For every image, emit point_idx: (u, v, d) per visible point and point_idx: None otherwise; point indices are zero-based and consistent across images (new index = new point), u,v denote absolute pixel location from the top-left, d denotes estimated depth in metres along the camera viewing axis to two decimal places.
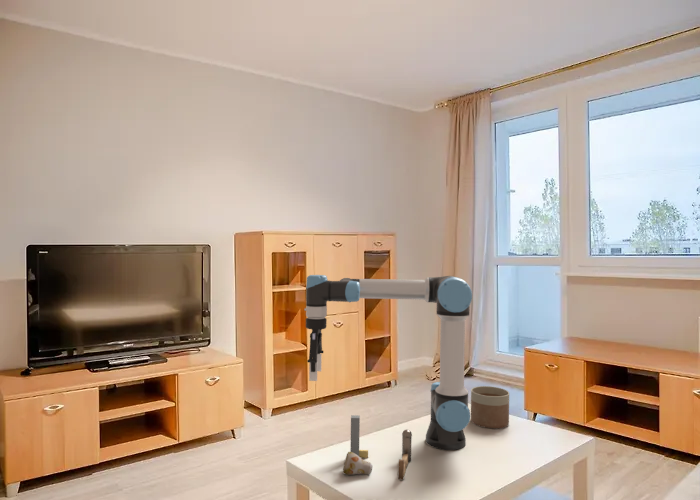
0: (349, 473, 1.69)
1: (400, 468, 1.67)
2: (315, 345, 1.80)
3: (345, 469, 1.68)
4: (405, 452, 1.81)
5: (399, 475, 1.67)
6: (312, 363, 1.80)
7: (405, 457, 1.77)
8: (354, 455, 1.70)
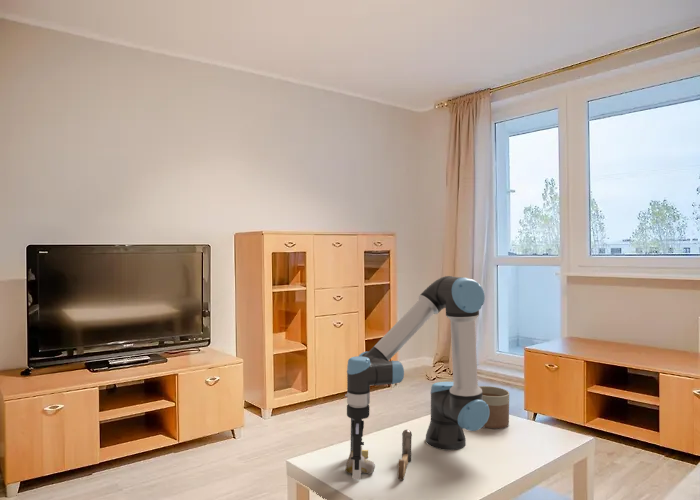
0: (351, 471, 1.70)
1: (400, 468, 1.67)
2: (359, 441, 1.64)
3: (347, 467, 1.69)
4: (405, 452, 1.81)
5: (399, 475, 1.67)
6: (356, 460, 1.65)
7: (405, 457, 1.77)
8: None
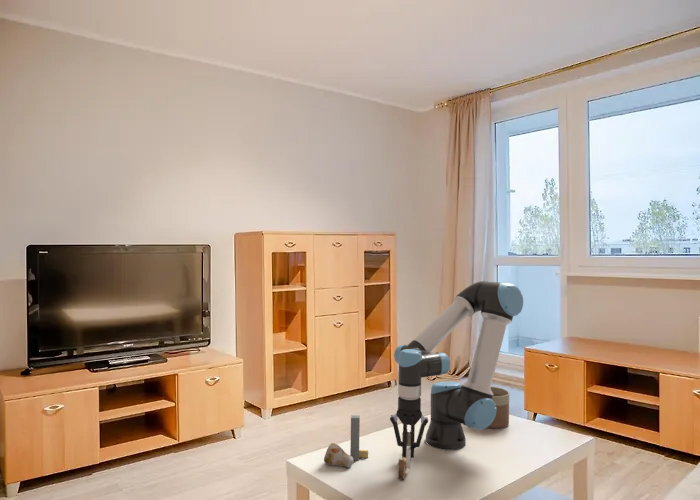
0: (329, 463, 1.76)
1: (400, 468, 1.67)
2: (394, 429, 1.73)
3: (324, 459, 1.76)
4: None
5: (399, 475, 1.67)
6: None
7: None
8: (335, 447, 1.77)
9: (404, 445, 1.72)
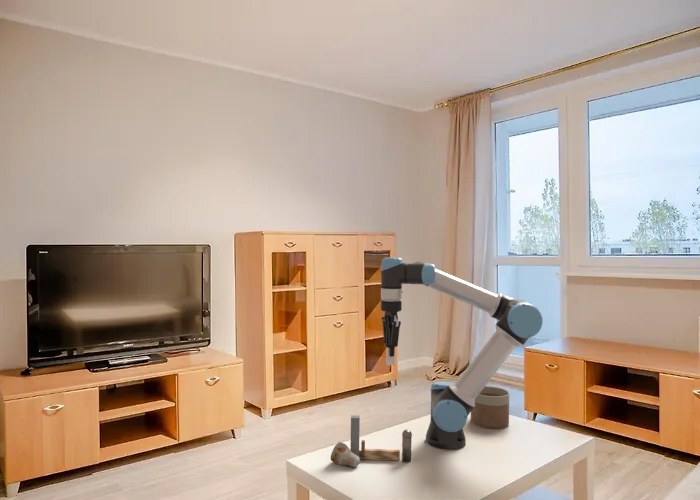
0: (335, 462, 1.77)
1: (361, 447, 1.83)
2: None
3: (331, 457, 1.77)
4: (405, 452, 1.81)
5: (361, 454, 1.83)
6: None
7: (390, 450, 1.82)
8: (342, 446, 1.78)
9: (386, 343, 1.89)
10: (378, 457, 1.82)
